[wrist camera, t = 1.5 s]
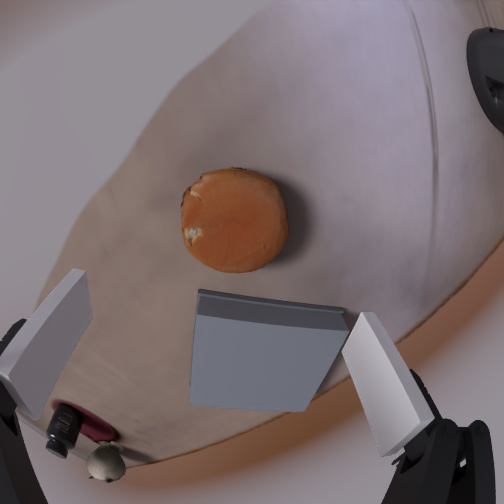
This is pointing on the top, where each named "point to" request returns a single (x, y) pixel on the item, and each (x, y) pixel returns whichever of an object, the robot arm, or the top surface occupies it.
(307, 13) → the top surface
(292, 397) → the stacking base
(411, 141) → the top surface
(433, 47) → the top surface
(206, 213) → the burger
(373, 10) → the top surface
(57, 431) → the supplement bottle
